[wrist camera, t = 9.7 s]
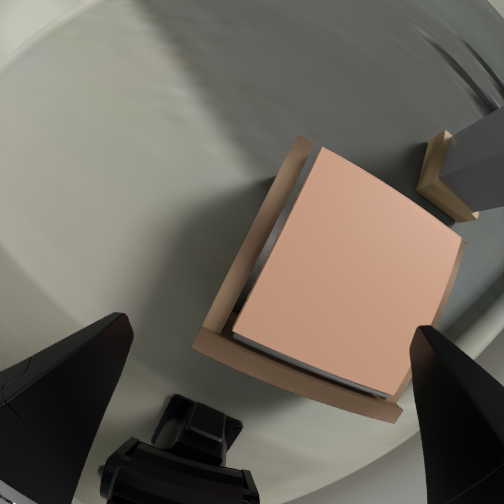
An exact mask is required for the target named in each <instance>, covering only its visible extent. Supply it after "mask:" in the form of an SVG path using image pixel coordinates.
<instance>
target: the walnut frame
mask: <svg viewBox="0 0 504 504" xmlns="http://www.w3.org/2000/svg"><path fill="white" fill-rule="evenodd" d="M313 145H314V142H312V141H310V140H308V139H306V138H304V137H302V136H300V135H297V137H296V139H295V141H294V143H293V145H292V147H291V149H290V151H289V153H288V155H287V157H286V159H285V161H284V163H283V164H282V166H281V168H280V170H279V172H278V174H277V176H276V178H275V180H274V182H273V184H272V186H271V188H270V190H269V192H268V194H267V196H266V198H265V200H264V202H263V204H262V206H261V208H260V210H259V212H258V214H257V216H256V218H255V220H254V222H253V224H252V226H251V228H250V230H249V232H248V234H247V236H246V238H245V240H244V242H243V244H242V246H241V248H240V250H239V252H238V254H237V256H236V258H235V260H234V262H233V264H232V266H231V268H230V270H229V272H228V274H227V276H226V278H225V280H224V282H223V284H222V286H221V288H220V290H219V292H218V294H217V296H216V298H215V300H214V302H213V304H212V306H211V308H210V310H209V312H208V314H207V316H206V318H205V320H204V322H203V325H202V326H201V328H200V330H199V332H198V334H197V336H196V338H195V340H194V342H193V344H192V346H191V348H192V349H194V350H196V351H198V352H200V353H202V354H204V355H206V356H208V357H210V358H212V359H214V360H217V361H219V362H221V363H223V364H225V365H227V366H230V367H232V368H234V369H236V370H239V371H241V372H243V373H245V374H248V375H250V376H252V377H255V378H257V379H260V380H262V381H264V382H267V383H269V384H272V385H274V386H277V387H280V388H282V389H285V390H287V391H290V392H293V393H295V394H298V395H301V396H304V397H306V398H309V399H312V400H315V401H318V402H321V403H324V404H327V405H330V406H333V407H336V408H339V409H343V410H346V411H349V412H353V413H356V414H359V415H363V416H367V417H370V418H374V419H378V420H382V421H386V422H390V423H394V424H395V422H396V421H397V419H398V418H399V416H400V415H401V413H402V412H403V409H401V408H400V407H399V406H398V405H397V404H396V403H397V401H398V400H399V398H400V396H401V395H402V393H403V391H404V390H405V388H406V386H407V385H408V383H409V381H410V379H411V377H412V371H411V366H410V368H409V370H408V372H407V374H406V375H405V377H404V379H403V381H402V383H401V384H400V386H399V388H398V389H397V391H396V393H395V394H394V395H391V394H390V396H389V397H387V398H384V397H381V396H378V395H375V394H372V393H369V392H366V391H363V390H360V389H357V388H354V387H352V386H349V385H346V384H343V383H340V382H338V381H335V380H332V379H330V378H327V377H324V376H322V375H319V374H317V373H314V372H311V371H309V370H306V369H304V368H301V367H299V366H296V365H294V364H292V363H289V362H287V361H284V360H282V359H280V358H277V357H275V356H273V355H270V354H268V353H266V352H264V351H261V350H259V349H257V348H255V347H252V346H250V345H248V344H246V343H244V342H241V341H239V340H237V339H235V338H233V335H234V333H235V332H234V331H232V330H233V325H234V323H235V321H236V319H237V317H238V314H236V313H234V312H232V309H233V307H234V305H235V303H236V301H237V299H238V297H239V295H240V293H241V291H242V289H243V287H244V285H245V283H246V281H247V279H248V277H249V275H250V273H251V271H252V269H253V267H254V265H255V263H256V261H257V259H258V257H259V255H260V253H261V251H262V249H263V247H264V245H265V243H266V241H267V239H268V237H269V235H270V233H271V231H272V229H273V227H274V225H275V223H276V221H277V219H278V217H279V215H280V213H281V211H282V208H283V206H284V204H285V202H286V200H287V198H288V196H289V194H290V192H291V190H292V188H293V186H294V184H295V182H296V180H297V178H298V176H299V174H300V172H301V170H302V168H303V166H304V164H305V161H306V159H307V157H308V155H309V153H310V151H311V149H312V147H313ZM466 243H467V242H465V241H464V240H463V239H461V243H460V246H459V249H458V253H457V256H456V259H455V262H454V266H453V269H452V272H451V274H450V277H449V280H448V283H447V286H446V288H445V291H444V294H443V296H442V299H441V302H440V304H439V307H438V309H437V311H436V314H435V316H434V319H433V321H432V323H431V326H432V327H434V328H435V329H436V327H437V325H438V323H439V320H440V318H441V316H442V313H443V311H444V308H445V306H446V303H447V301H448V298H449V295H450V293H451V290H452V287H453V284H454V281H455V279H456V276H457V273H458V270H459V266H460V263H461V260H462V257H463V253H464V250H465V246H466Z"/></svg>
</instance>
